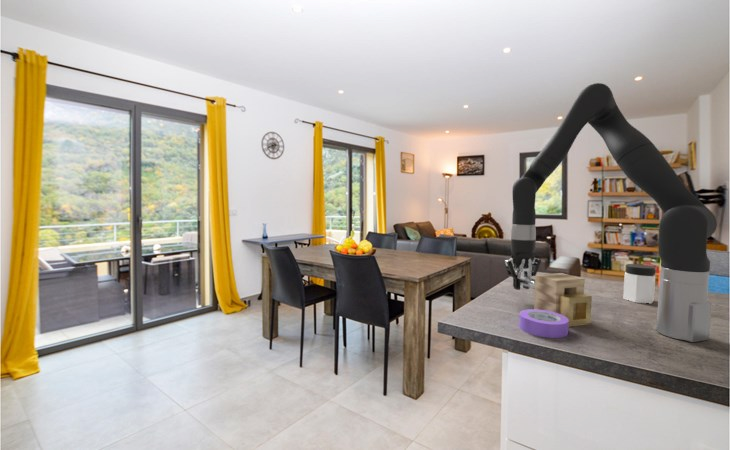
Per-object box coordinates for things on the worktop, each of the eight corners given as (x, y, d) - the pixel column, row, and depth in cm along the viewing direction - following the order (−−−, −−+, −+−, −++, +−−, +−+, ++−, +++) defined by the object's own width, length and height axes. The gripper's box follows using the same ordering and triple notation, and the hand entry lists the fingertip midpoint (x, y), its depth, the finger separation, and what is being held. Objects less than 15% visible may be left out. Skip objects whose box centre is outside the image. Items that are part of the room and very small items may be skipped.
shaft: (566, 297, 103) (566, 287, 103) (557, 298, 102) (558, 288, 102) (520, 282, 121) (520, 274, 121) (512, 283, 120) (513, 274, 120)
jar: (651, 305, 116) (653, 269, 115) (621, 300, 122) (623, 266, 121) (655, 300, 122) (657, 266, 121) (626, 295, 128) (628, 262, 127)
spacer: (590, 324, 98) (591, 295, 98) (567, 326, 96) (569, 298, 96) (581, 320, 101) (582, 293, 101) (558, 323, 99) (560, 295, 98)
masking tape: (570, 328, 96) (570, 314, 95) (565, 342, 86) (566, 327, 86) (523, 319, 102) (524, 306, 102) (514, 332, 93) (515, 317, 92)
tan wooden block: (582, 319, 102) (584, 278, 101) (554, 322, 99) (556, 280, 98) (560, 311, 110) (561, 273, 109) (533, 313, 107) (535, 274, 106)
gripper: (513, 239, 112) (511, 293, 113) (549, 238, 116) (547, 290, 117) (498, 237, 119) (496, 287, 120) (532, 236, 123) (530, 285, 124)
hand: (521, 288), depth 119 cm, fingers closed on shaft, 3 cm apart
